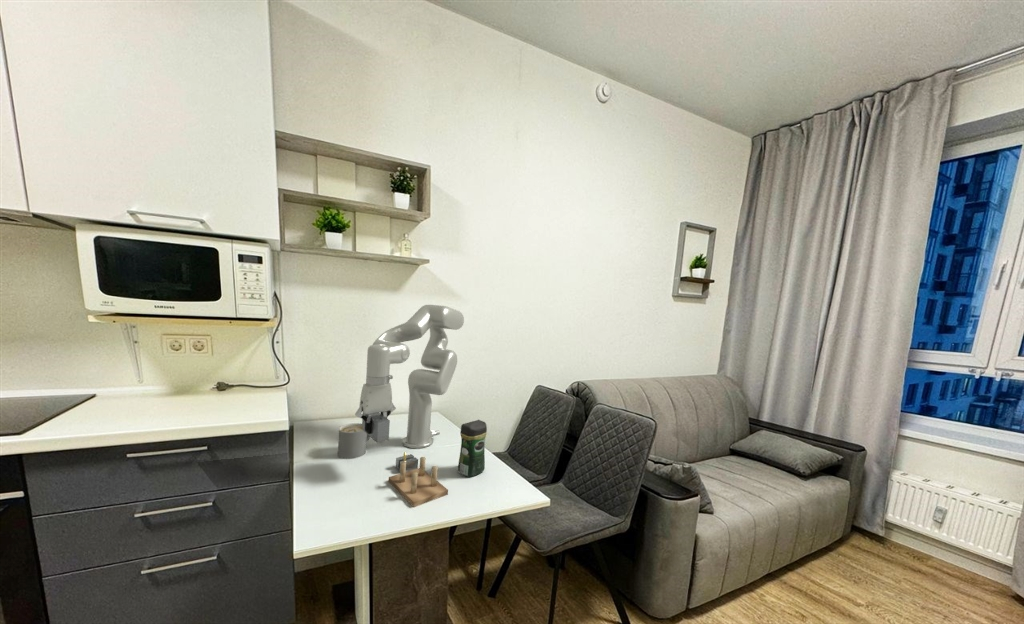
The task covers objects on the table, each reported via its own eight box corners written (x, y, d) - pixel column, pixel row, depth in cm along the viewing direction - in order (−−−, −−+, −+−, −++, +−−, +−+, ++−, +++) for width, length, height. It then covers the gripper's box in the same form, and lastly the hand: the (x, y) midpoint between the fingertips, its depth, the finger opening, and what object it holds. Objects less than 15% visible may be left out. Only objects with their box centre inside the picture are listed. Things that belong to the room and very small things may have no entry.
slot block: (410, 463, 132) (411, 447, 132) (417, 468, 128) (418, 452, 128) (395, 467, 128) (396, 451, 128) (402, 473, 124) (403, 456, 124)
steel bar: (372, 426, 130) (373, 408, 130) (388, 440, 120) (389, 420, 120) (361, 429, 127) (362, 410, 127) (377, 443, 117) (378, 422, 117)
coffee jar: (473, 463, 135) (476, 416, 135) (487, 471, 130) (491, 422, 129) (453, 471, 128) (457, 421, 128) (467, 480, 123) (471, 428, 122)
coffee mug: (345, 461, 130) (347, 434, 129) (332, 452, 135) (334, 427, 135) (378, 450, 140) (380, 426, 140) (365, 443, 146) (366, 419, 146)
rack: (420, 471, 126) (422, 451, 126) (447, 494, 113) (449, 471, 113) (388, 481, 118) (389, 459, 118) (413, 507, 105) (415, 482, 105)
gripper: (395, 375, 131) (393, 423, 132) (348, 380, 120) (346, 432, 121) (404, 379, 126) (402, 429, 127) (356, 385, 114) (354, 440, 115)
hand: (375, 430), depth 124 cm, fingers closed on steel bar, 4 cm apart
